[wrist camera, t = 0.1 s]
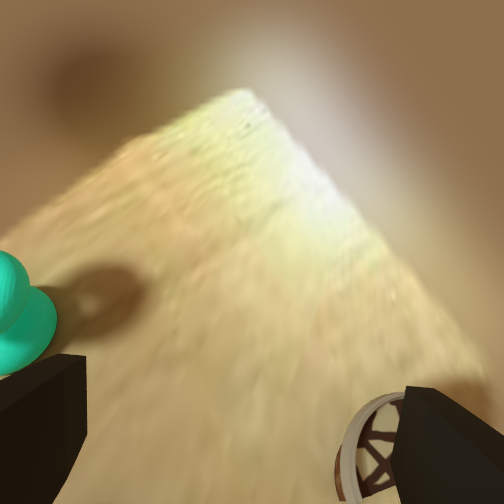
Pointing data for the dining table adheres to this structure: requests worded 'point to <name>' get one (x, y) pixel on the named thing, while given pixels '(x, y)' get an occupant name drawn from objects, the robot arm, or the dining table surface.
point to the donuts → (22, 317)
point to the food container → (368, 450)
